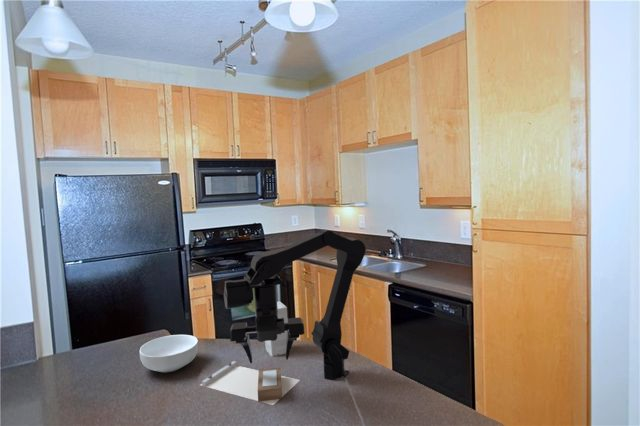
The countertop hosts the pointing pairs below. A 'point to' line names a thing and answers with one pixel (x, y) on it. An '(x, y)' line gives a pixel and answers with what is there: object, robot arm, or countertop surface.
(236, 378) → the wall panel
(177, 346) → the cereal bowl
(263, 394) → the frame
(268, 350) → the skincare box
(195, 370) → the countertop surface
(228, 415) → the countertop surface
